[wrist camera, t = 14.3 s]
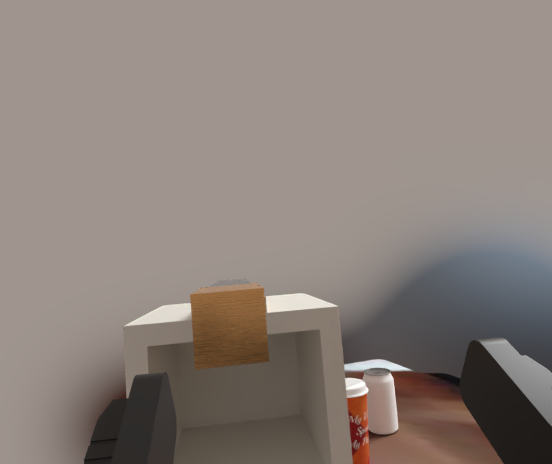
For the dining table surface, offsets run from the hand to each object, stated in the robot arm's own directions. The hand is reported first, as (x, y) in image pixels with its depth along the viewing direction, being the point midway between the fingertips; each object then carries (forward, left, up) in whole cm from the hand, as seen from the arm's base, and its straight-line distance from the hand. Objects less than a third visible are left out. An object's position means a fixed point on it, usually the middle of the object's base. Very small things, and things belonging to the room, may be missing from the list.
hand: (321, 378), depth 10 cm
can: (-26, -74, -34) cm, 86 cm away
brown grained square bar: (+3, -20, -1) cm, 20 cm away
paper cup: (-16, -62, -34) cm, 73 cm away
